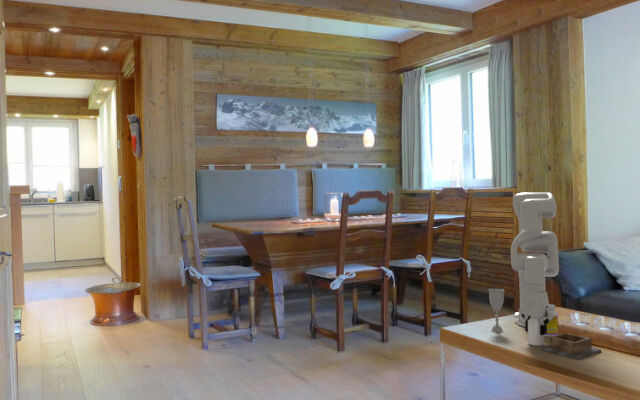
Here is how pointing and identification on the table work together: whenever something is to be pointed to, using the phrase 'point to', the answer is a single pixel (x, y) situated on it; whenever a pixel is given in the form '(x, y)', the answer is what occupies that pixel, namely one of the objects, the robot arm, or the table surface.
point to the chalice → (496, 305)
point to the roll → (535, 332)
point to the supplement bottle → (552, 323)
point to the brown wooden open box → (571, 346)
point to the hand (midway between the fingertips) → (535, 332)
